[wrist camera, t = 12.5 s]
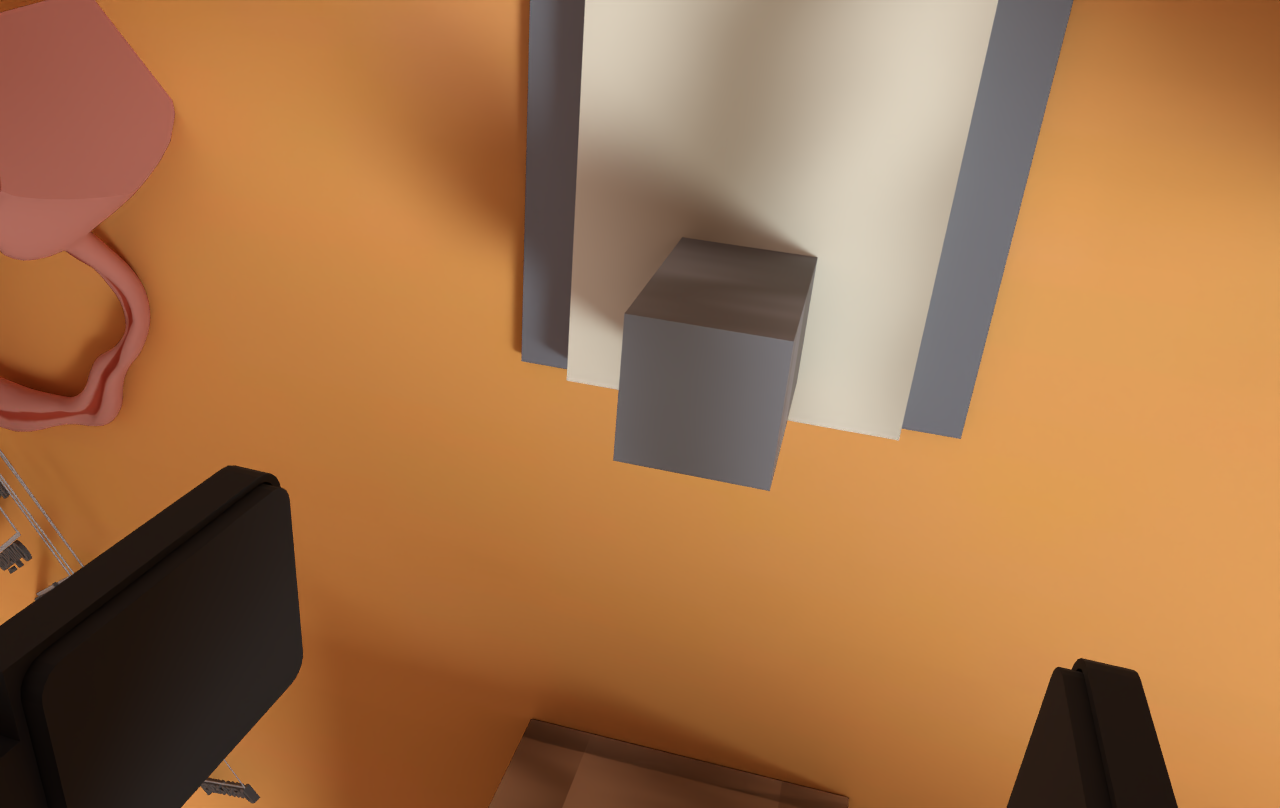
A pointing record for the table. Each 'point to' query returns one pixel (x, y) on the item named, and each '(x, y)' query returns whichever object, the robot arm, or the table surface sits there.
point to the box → (633, 777)
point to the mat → (974, 231)
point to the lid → (763, 216)
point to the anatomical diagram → (75, 199)
